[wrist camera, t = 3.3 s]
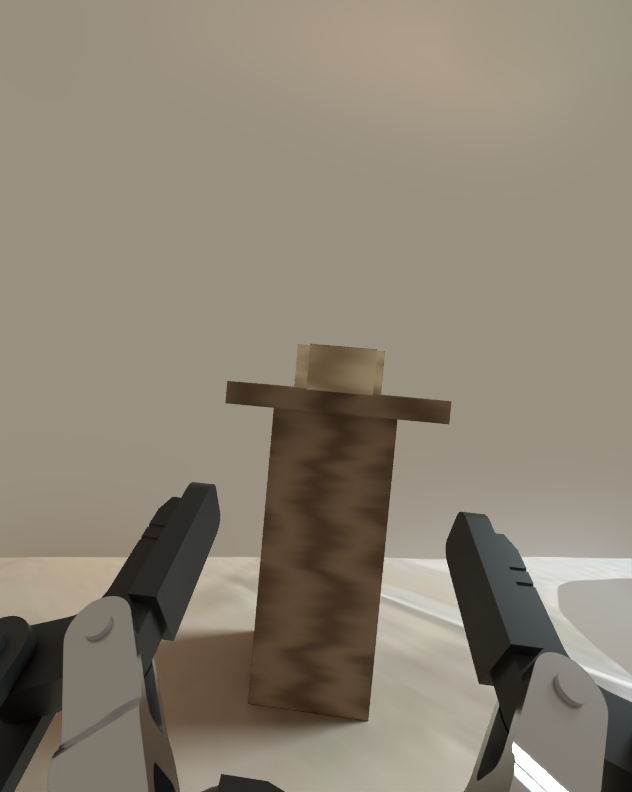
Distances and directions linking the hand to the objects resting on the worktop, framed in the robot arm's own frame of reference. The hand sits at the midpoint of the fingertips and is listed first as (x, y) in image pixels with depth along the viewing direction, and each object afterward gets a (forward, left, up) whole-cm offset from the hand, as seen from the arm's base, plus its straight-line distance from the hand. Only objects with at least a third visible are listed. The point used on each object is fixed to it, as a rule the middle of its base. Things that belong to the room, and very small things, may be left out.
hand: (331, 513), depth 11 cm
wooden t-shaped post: (0, -25, -28) cm, 37 cm away
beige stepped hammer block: (0, -17, +4) cm, 17 cm away
